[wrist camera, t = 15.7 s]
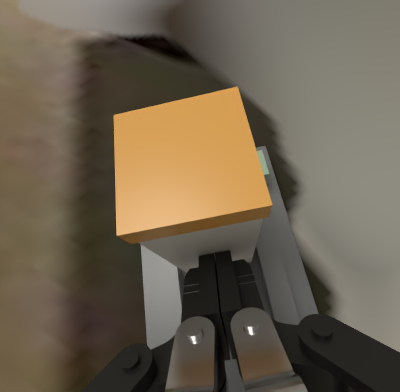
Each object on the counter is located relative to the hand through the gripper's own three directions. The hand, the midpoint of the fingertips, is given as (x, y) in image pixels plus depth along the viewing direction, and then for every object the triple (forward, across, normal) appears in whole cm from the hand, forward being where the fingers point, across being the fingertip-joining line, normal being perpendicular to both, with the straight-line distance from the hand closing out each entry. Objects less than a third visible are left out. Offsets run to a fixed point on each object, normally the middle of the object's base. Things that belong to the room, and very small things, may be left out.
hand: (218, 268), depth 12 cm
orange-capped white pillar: (+5, 0, -1) cm, 5 cm away
